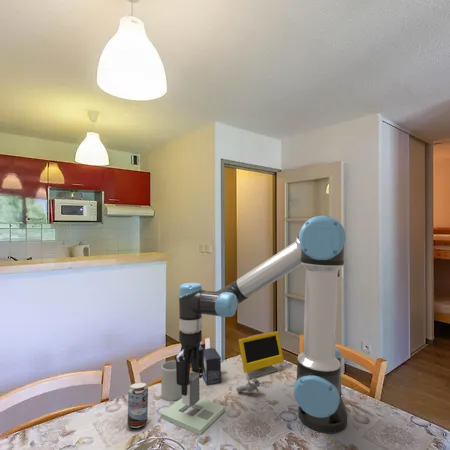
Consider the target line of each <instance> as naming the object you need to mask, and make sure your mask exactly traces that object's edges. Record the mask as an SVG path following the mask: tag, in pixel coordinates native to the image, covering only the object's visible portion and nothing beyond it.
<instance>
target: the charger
mask: <svg viewBox="0 0 450 450" xmlns="http://www.w3.org/2000/svg"><path fill="white" fill-rule="evenodd" d="M188 384H190V405H191V406H193V405H194V404H195V403H197V402H198V401H199V400H200V398H201V397H200V396H201V395H200V394H201V393H200V378H199V373H197V372H194V371H192V369H190V374H189V383H188ZM191 406H190V407H191Z"/></svg>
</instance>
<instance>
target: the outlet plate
mask: <svg viewBox="0 0 450 450" xmlns="http://www.w3.org/2000/svg"><path fill="white" fill-rule="evenodd" d="M189 407H191V408H194V409H196V410H198V411H197V412H196V413H195V414H194V415H193V416H192V415H190V414H186V413H185V412H184V411H185V410H186V409H188V408H189ZM225 411H226V406H225V405H221V404H218V403H217V402H216V403H215V402H213V401H210V400H207V399H205V398H203V397H200V400H199V401H198V402H197V403H195V404H194V405H193V406H191V405H189V406H188V405H186V404H183V403H182V398H180V399H178V400H176V401H175V402H174V403H173V404H171V405H170V406H169V407H167V408H166V409H164V410H163V411H162V412H161V413H160V419H163V420H166V421H168V422H170V423H171V424H175V425H176V426H179V427H181V428H184V429H186V430H188V431H190V432H193V433H195V434H197V435H200V436H201V435H202V434H203V433H204V432H205V431H206V430H207V429H208V428H209V427H210V426H212V424H213V423H214V422H215V421H216V420H218V419H219V417H220V416H221V415H223V413H225Z"/></svg>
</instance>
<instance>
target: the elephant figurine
mask: <svg viewBox="0 0 450 450" xmlns="http://www.w3.org/2000/svg"><path fill="white" fill-rule="evenodd" d="M251 381H252V382H250V380H248V382H247V383H246V385H243V386H238V387H237V386H236V388H235V389H236V392H238V394H239V393H242V392H245V391H247V396H246V397H248V396H249V395H250V393H253V392H255V391H256V392H259V390H260V389H259V387H260V386H261V382H260V380H259V379H257V377H255V378H254V377H253V378H251Z"/></svg>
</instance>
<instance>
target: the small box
mask: <svg viewBox="0 0 450 450" xmlns="http://www.w3.org/2000/svg"><path fill="white" fill-rule="evenodd" d="M221 363H222V357H221V356H220V354H219V353H218V351H217V349H216V348H215V347H211V348H210V347H209V348H204V371H203V373H201V374H200V375H202V379H203V380H204V383H205V384H206V386H212V385H213V386H214V385H218V384H222V364H221Z"/></svg>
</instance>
